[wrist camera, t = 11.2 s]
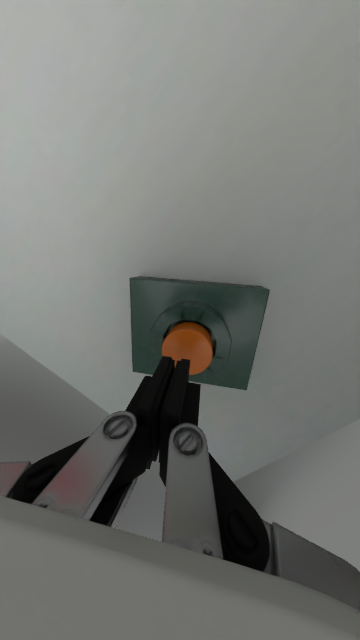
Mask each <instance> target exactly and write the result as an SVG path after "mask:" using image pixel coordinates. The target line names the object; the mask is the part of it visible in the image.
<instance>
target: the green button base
mask: <svg viewBox="0 0 360 640" xmlns="http://www.w3.org/2000/svg"><path fill="white" fill-rule="evenodd" d="M269 291H270V290H269V289H267V288H264V287H262V286H252V285H240V284H227V283H215V282H203V281H190V280H178V279H166V278H154V277H141V276H139V277H133V278H130V301H131V332H132V363H133V372H139V373H145V374H151V375H153V374H154V372H155V370H156V368H157V366H158V364H159V362H160V360H161V358H162V345H163V342H164V340H165V338H166V337H167V335H168V333H169V332H170V330H171V329H172V328H173V327H174V326H176V325H178V324H180V323H184V322H192V323H196V324H199V325H201V326H202V327H204V328H205V329H206V330H207V331H208V332H209V334H210V336H211V338H212V344H213V357H212V361H211V363H210V365H209V366H208V367H207V368H206V369H205V370H204V371H202V372H200V373H198V374H195V375H189V380H188V381H194V382H200V383H206V384H212V385H218V386H224V387H230V388H236V389H242V390H247V386H248V382H249V377H250V373H251V369H252V364H253V360H254V356H255V352H256V347H257V343H258V339H259V334H260V330H261V326H262V321H263V317H264V313H265V309H266V304H267V300H268V296H269Z"/></svg>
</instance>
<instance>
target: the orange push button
mask: <svg viewBox="0 0 360 640" xmlns="http://www.w3.org/2000/svg"><path fill="white" fill-rule="evenodd" d="M162 356H168V357H172V360H175V366H176V363H177V360H179V361H181V358H182V359H189V360H190V369H189V375H195V374H198V373H200V372H202V371H204V370H205V369H206V368H207V367H208V366H209V365H210V363H211V361H212V357H213V344H212V338H211V336H210V334H209V332H208V331H207V330H206V329H205V328H204V327H202V326H201V325H199V324H196V323H192V322H184V323H180V324H178V325H176V326H174V327H173V328H172V329H171V330H170V332H169V333H168V335H167V337H166V338H165V340H164V342H163V345H162Z"/></svg>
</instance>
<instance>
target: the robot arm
mask: <svg viewBox="0 0 360 640" xmlns="http://www.w3.org/2000/svg"><path fill="white" fill-rule="evenodd" d="M189 369H190V360H189V359H182V358H181V361H179V360H177V363H176V366H175V360H172V357H168V356H162V358H161V360H160V362H159V364H158V366H157V368H156V370H155V372H154V374H153V376H152V377H151V376H145V377H144V379H143V381H142V382H141V384H140V386H139V388H138V389H137V391H136V393H135V395H134V396H133V398H132V400H131V402H130V403H129V405H128V407H127V409H126V411H118V412H115V413H112V414H111V415H109V416H108V417H106V418H105V419H104V420H103V421H102V423H101V424H100V425H99V426H98V427H97V428H96V430H95V431H94V432H93V433H92V434H91V435H90V436H89V437H87V438H84V439H82V440H80V441H78V442H76V443H74V444H72V445H70V446H68V447H66V448H64V449H62V450H59V451H57V452H55V453H53V454H51V455H49V456H47V457H45V458H43V459H41V460H39V461H37V462H36V463H34V464H31V462H30V461H18V462H0V640H360V572H359V571H358V570H357V569H356V568H355V567H353V566H352V565H351V564H349V563H348V562H347V561H345V560H343V559H342V558H340V557H338V556H336V555H334V554H333V553H331V552H329V551H327V550H325V549H323V548H321V547H320V546H318V545H316V544H314V543H312V542H310V541H308V540H306V539H305V538H303V537H301V536H299V535H297V534H295V533H294V532H292V531H290V530H288V529H286V528H284V527H282V526H281V525H279V524H277V523H275V522H273V523H272V524H269V523H268V522H266V521H264V520H263V519H261V518H260V516H259V515H258V513H257V512H256V510H255V509H254V508H253V507H252V505H251V504H250V503H249V502H248V500H247V499H246V498H245V497H244V495H243V494H242V493H241V492H240V490H239V489H238V488H237V487H236V485H235V484H234V483H233V482H232V480H231V479H230V478H229V477H228V475H227V474H226V473H225V472H224V471H223V469H222V468H221V467H220V466H219V464H218V463H217V462H216V461H215V459H214V458H213V457H212V456H211V454H210V453H209V452H208V446H207V440H206V436H205V434H204V433H203V431H202V430H201V429H200V428H199V427H198V415H199V400H200V385H201V384H195V383H189V382H188V380H189ZM158 452H159V462H160V477H161V479H162V481H163V483H164V485H165V487H166V492H165V506H164V521H163V534H162V542H161V541H157V540H154V539H151V538H147V537H144V536H140V535H137V534H133V533H130V532H126V531H123V530H120V529H116V526H117V523H118V521H119V519H120V517H121V515H122V513H123V510H124V508H125V506H126V504H127V502H128V500H129V497H130V495H131V493H132V491H133V489H134V486H135V484H136V482H137V478H138V476H139V475H141V474H142V473H144V472H145V470H146V469H150V466H151V462H152V461H156V459H157V456H158Z"/></svg>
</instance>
